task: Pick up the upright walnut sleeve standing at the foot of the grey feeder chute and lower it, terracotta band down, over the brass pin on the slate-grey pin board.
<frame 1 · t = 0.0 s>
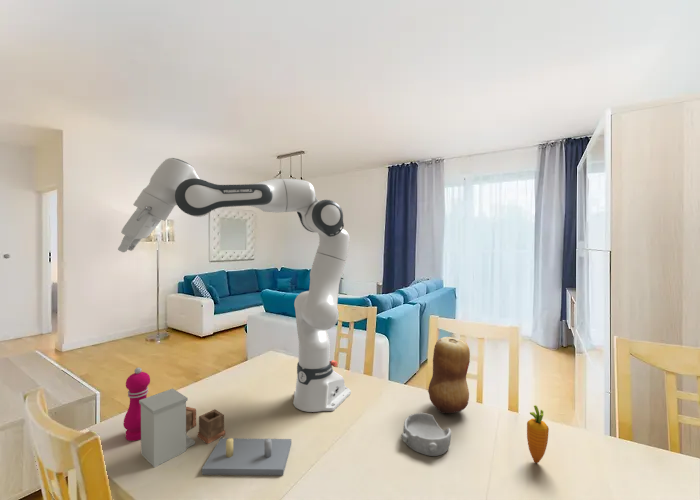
hand: (125, 250, 90), 54 cm above the table, fingers open, 8 cm apart
sleeve a: (211, 435, 95), on the table
pin board: (249, 458, 86), on the table
pepper mill: (138, 435, 95), on the table
dish: (425, 442, 94), on the table
feeder: (163, 452, 87), on the table
carrot: (536, 463, 86), on the table
sleeve b: (181, 429, 98), on the table
butternut squash: (447, 410, 112), on the table
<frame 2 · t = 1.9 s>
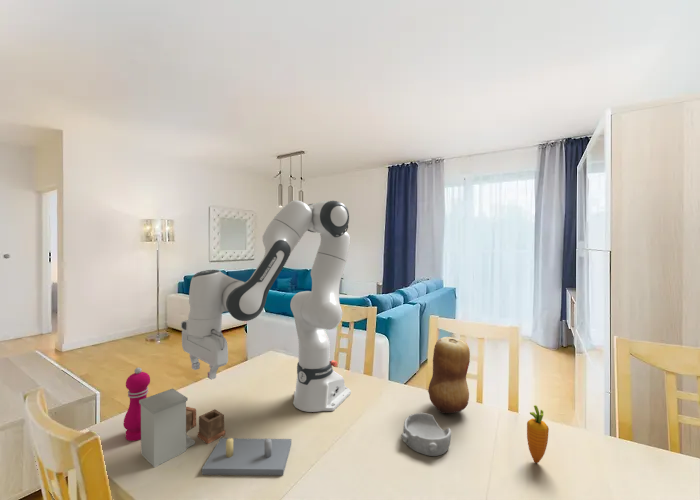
hand: (203, 373, 93), 19 cm above the table, fingers open, 8 cm apart
nothing on the table moved.
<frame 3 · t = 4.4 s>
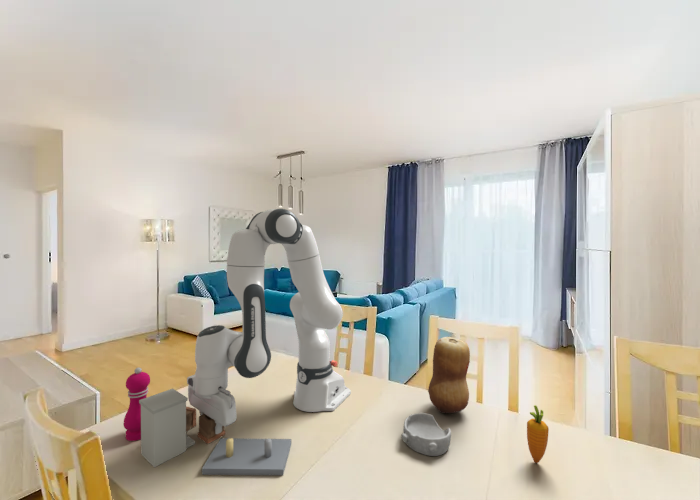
hand: (211, 428, 95), 2 cm above the table, fingers closed on sleeve a, 5 cm apart
sleeve a: (211, 435, 95), on the table, touching gripper
everything else where it was.
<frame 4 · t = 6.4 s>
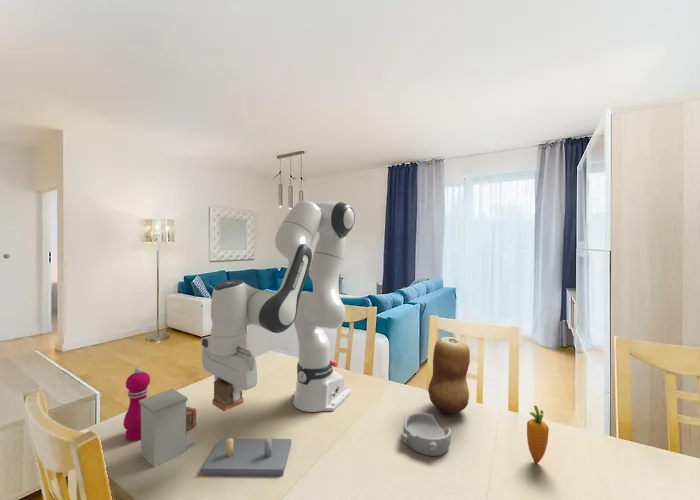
hand: (228, 395, 84), 17 cm above the table, fingers closed on sleeve a, 5 cm apart
sleeve a: (227, 403, 84), point 15 cm above the table, touching gripper
everything else where it was.
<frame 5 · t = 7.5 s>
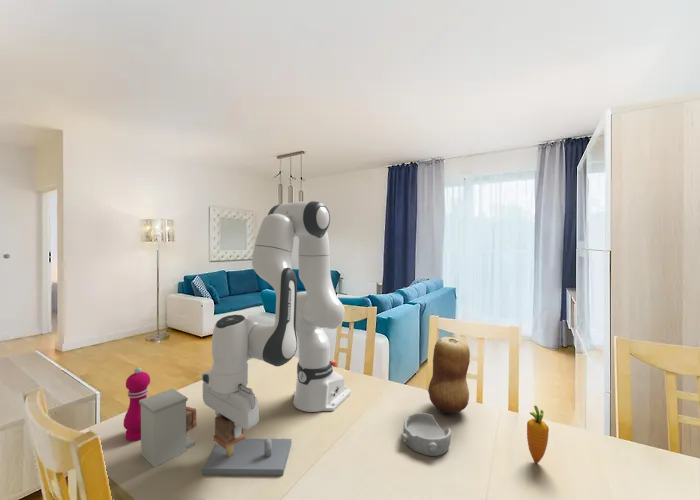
hand: (229, 431, 84), 8 cm above the table, fingers closed on sleeve a, 5 cm apart
sleeve a: (229, 439, 84), point 6 cm above the table, touching gripper
everything else where it was.
when the fingers open (5 cm above the table, at t = 8.5 s): sleeve a stays where it is, resting on pin board.
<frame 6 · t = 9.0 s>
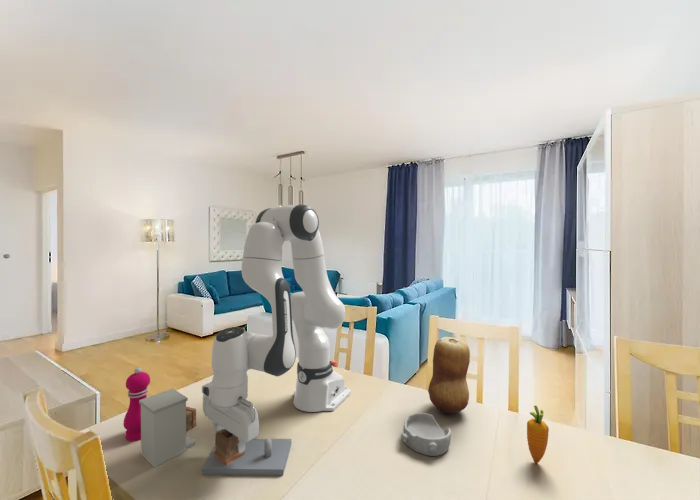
hand: (229, 443, 84), 5 cm above the table, fingers open, 8 cm apart
sleeve a: (229, 455, 85), point 1 cm above the table, touching pin board
everything else where it was.
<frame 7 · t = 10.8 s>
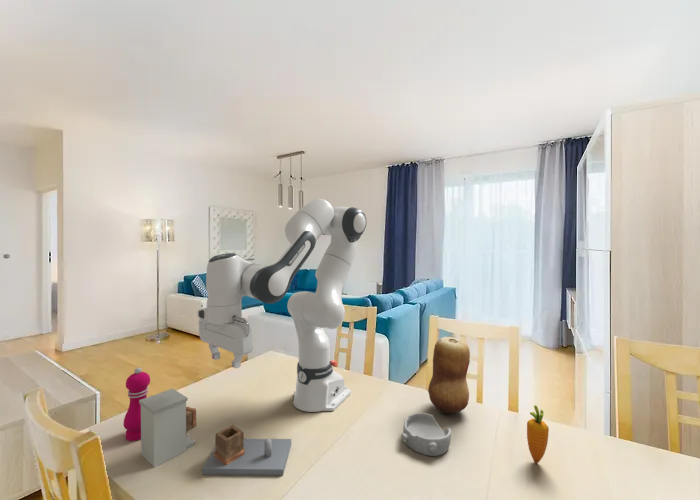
hand: (225, 362, 88), 24 cm above the table, fingers open, 8 cm apart
nothing on the table moved.
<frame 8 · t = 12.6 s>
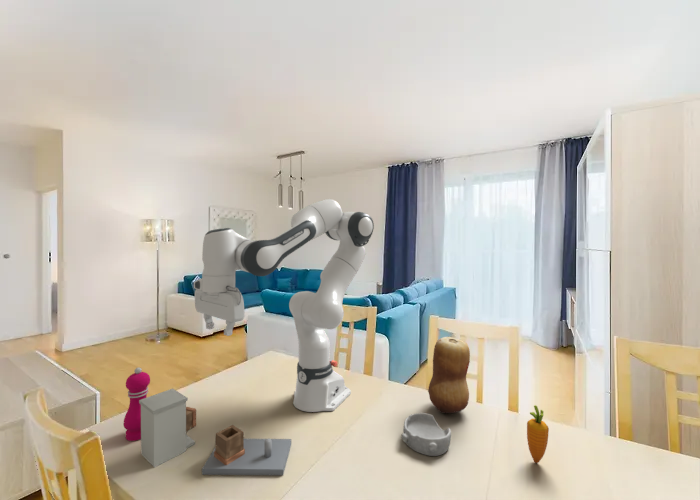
hand: (218, 331, 93), 31 cm above the table, fingers open, 8 cm apart
nothing on the table moved.
at the end: sleeve a 0.0 cm from the target spot, point 1.5 cm above the table; sleeve a tilted 0°; the gripper is holding nothing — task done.
